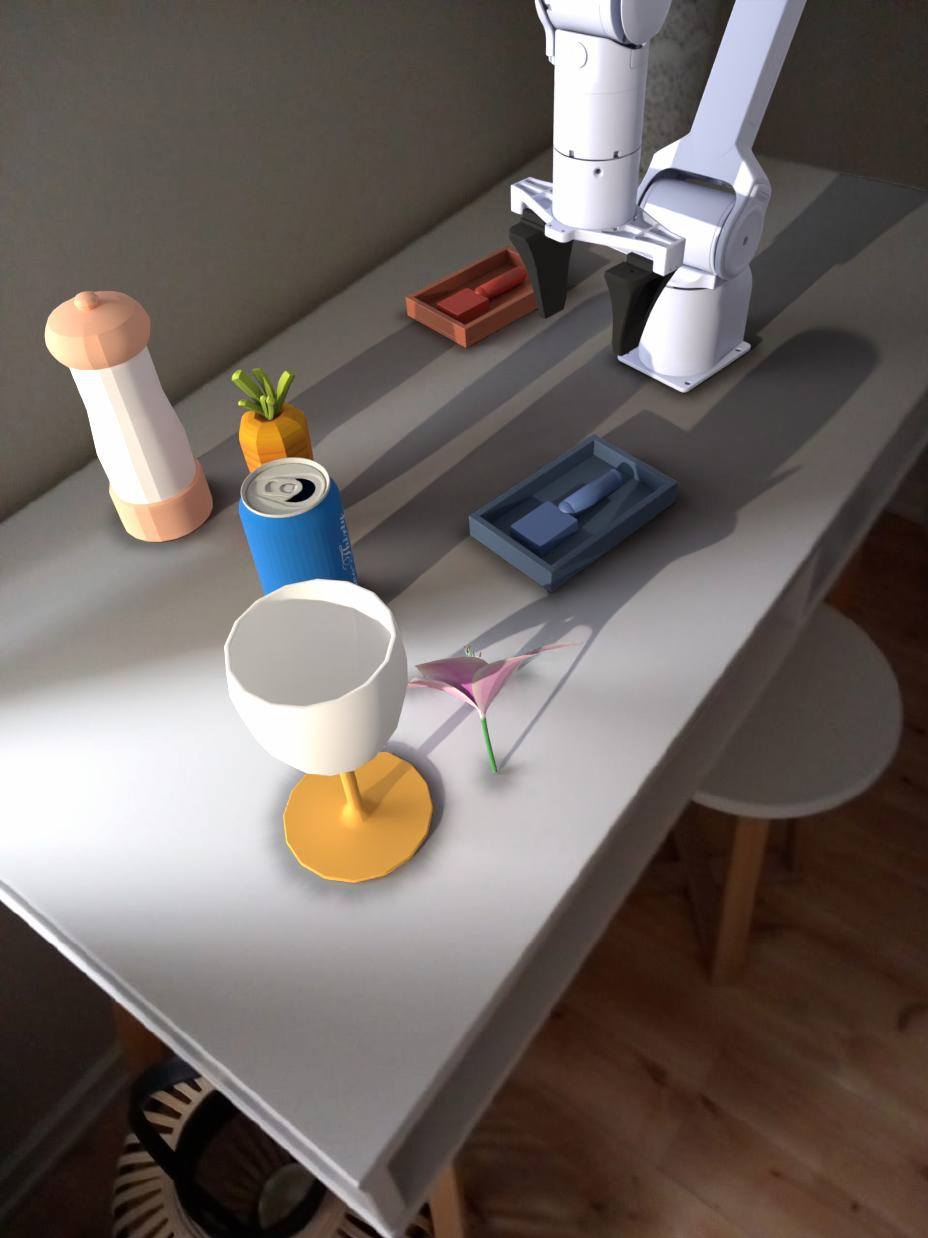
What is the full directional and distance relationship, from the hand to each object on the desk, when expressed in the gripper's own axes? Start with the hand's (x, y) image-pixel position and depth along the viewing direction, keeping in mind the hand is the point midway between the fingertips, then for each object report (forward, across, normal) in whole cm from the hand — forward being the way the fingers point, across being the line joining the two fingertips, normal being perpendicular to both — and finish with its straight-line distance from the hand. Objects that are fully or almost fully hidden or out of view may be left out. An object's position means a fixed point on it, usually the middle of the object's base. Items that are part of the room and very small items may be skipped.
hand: (588, 330), depth 73 cm
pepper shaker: (+11, -18, -29) cm, 36 cm away
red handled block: (+10, -22, +10) cm, 26 cm away
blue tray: (+11, +6, -7) cm, 14 cm away
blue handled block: (+10, +6, -7) cm, 14 cm away
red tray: (+10, -22, +10) cm, 26 cm away
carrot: (+11, -8, -23) cm, 27 cm away
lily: (+11, +15, -25) cm, 31 cm away
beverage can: (+11, 0, -27) cm, 29 cm away
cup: (+12, +15, -35) cm, 40 cm away
